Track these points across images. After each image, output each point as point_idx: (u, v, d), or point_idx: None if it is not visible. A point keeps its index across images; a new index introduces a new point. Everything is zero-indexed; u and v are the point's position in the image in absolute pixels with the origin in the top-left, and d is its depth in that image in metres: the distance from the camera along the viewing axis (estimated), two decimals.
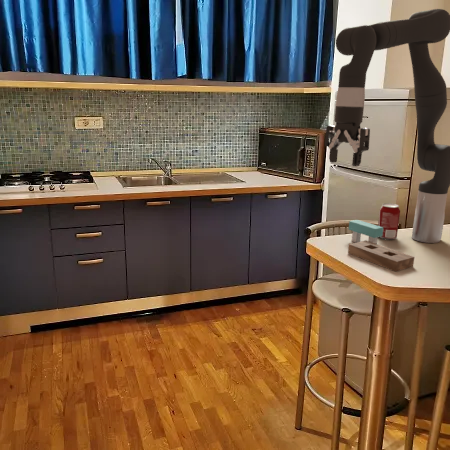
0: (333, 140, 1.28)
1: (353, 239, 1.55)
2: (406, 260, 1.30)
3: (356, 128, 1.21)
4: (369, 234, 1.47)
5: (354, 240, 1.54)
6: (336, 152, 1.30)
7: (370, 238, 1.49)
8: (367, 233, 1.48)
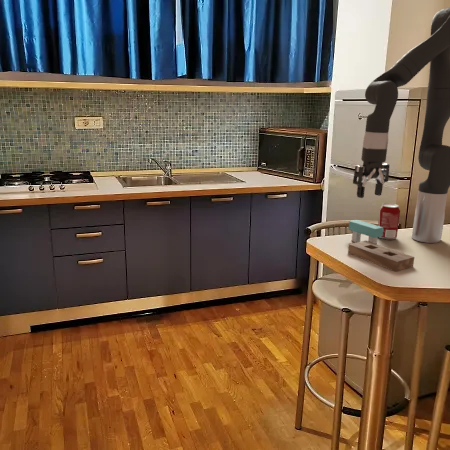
0: (368, 178, 1.43)
1: (353, 239, 1.55)
2: (406, 260, 1.30)
3: None
4: (369, 234, 1.47)
5: (354, 240, 1.54)
6: None
7: (370, 238, 1.49)
8: (367, 233, 1.48)
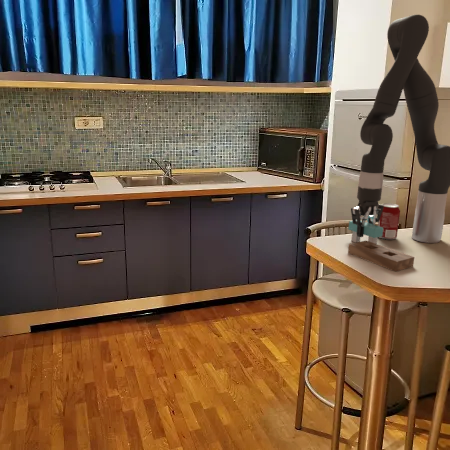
0: (366, 218, 1.47)
1: (353, 239, 1.55)
2: (406, 260, 1.30)
3: None
4: (369, 234, 1.47)
5: (354, 240, 1.54)
6: None
7: (369, 238, 1.49)
8: (367, 233, 1.48)
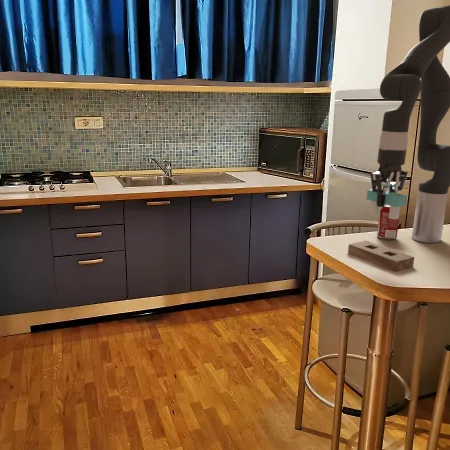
0: (388, 184, 1.29)
1: (372, 210, 1.36)
2: (406, 260, 1.30)
3: None
4: (391, 203, 1.29)
5: (373, 211, 1.36)
6: None
7: (391, 208, 1.30)
8: (388, 202, 1.30)
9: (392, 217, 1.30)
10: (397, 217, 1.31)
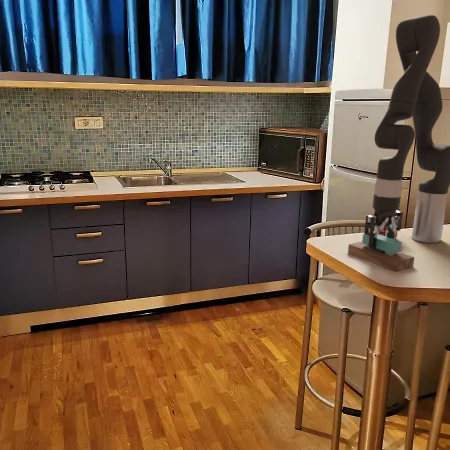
0: (381, 228, 1.32)
1: None
2: (406, 260, 1.30)
3: None
4: (386, 249, 1.33)
5: None
6: None
7: (386, 254, 1.34)
8: (383, 248, 1.33)
9: None
10: None
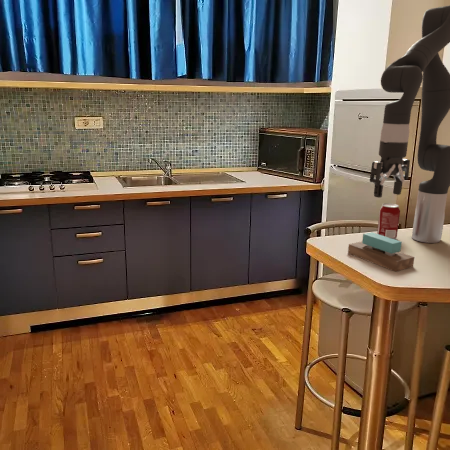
0: (387, 175, 1.28)
1: None
2: (406, 260, 1.30)
3: None
4: (386, 249, 1.33)
5: None
6: None
7: (386, 254, 1.34)
8: (383, 248, 1.33)
9: None
10: None
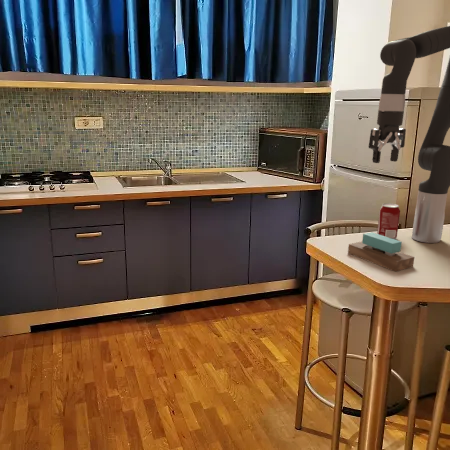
0: (384, 142, 1.39)
1: None
2: (406, 260, 1.30)
3: None
4: (386, 249, 1.33)
5: None
6: None
7: (386, 254, 1.34)
8: (383, 248, 1.33)
9: None
10: None
